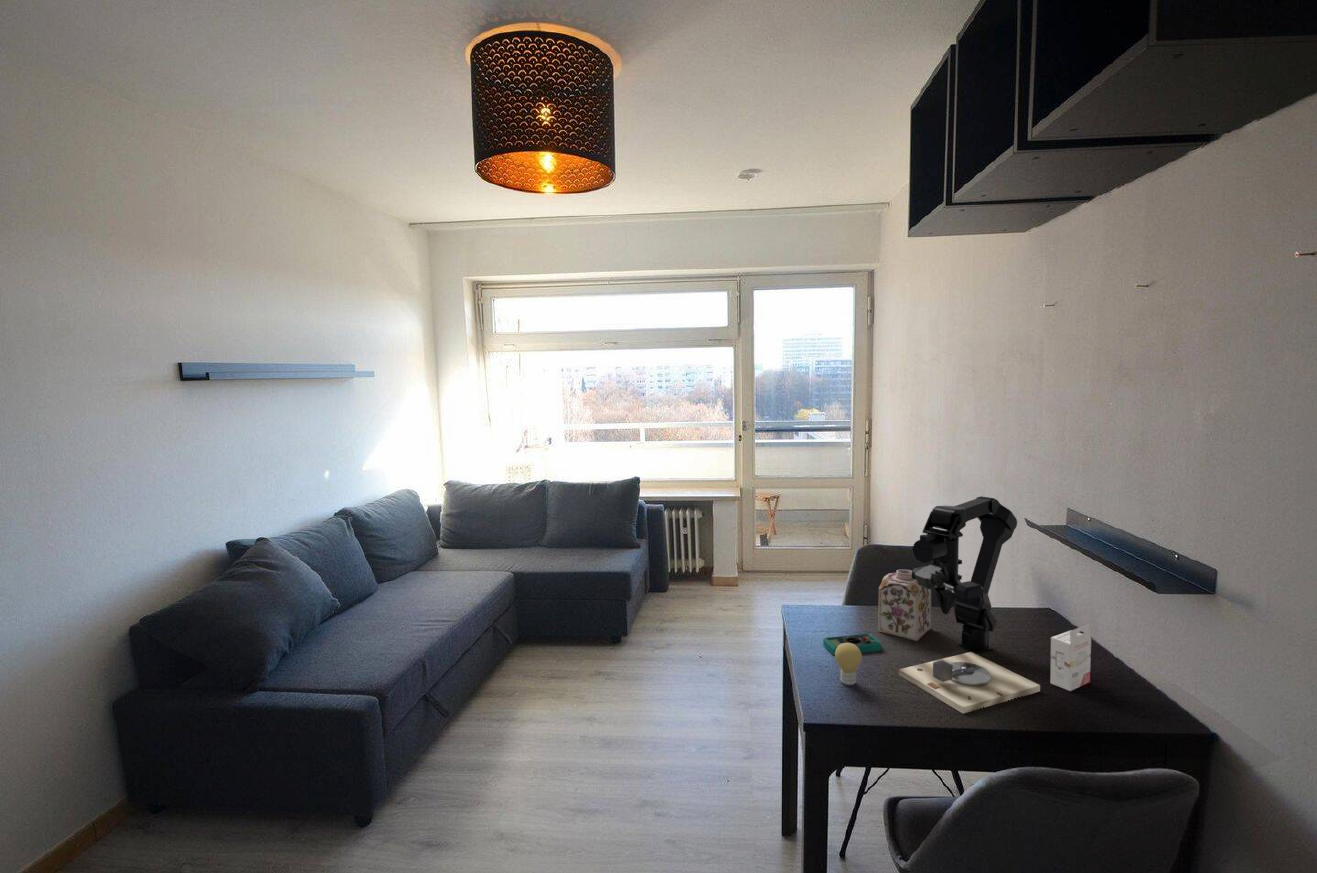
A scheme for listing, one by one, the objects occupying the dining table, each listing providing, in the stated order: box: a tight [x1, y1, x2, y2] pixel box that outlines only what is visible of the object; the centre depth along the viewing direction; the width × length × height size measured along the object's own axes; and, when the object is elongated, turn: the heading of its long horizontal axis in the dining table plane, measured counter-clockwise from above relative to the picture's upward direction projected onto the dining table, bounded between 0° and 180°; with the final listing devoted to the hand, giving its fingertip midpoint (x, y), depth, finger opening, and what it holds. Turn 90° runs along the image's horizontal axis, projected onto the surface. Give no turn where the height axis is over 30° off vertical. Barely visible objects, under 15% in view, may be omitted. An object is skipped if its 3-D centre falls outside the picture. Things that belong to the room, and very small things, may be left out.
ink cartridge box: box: [1050, 624, 1092, 692], centre depth 152 cm, size 9×5×15 cm, turn 118°
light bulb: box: [834, 643, 863, 686], centre depth 156 cm, size 6×6×10 cm
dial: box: [933, 660, 991, 686], centre depth 153 cm, size 14×10×5 cm
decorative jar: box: [877, 568, 932, 642], centre depth 186 cm, size 12×12×18 cm
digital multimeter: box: [822, 632, 883, 656], centre depth 176 cm, size 7×15×3 cm, turn 100°
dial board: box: [898, 651, 1041, 715], centre depth 155 cm, size 24×20×2 cm
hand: (945, 613), depth 165 cm, fingers closed
